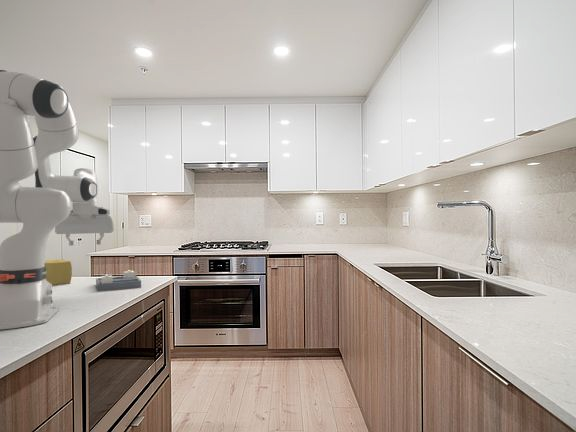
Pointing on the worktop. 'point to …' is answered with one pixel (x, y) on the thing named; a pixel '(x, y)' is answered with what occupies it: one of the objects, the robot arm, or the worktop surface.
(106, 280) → the tab near
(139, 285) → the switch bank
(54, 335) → the worktop surface
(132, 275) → the tab far
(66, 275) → the cheese
